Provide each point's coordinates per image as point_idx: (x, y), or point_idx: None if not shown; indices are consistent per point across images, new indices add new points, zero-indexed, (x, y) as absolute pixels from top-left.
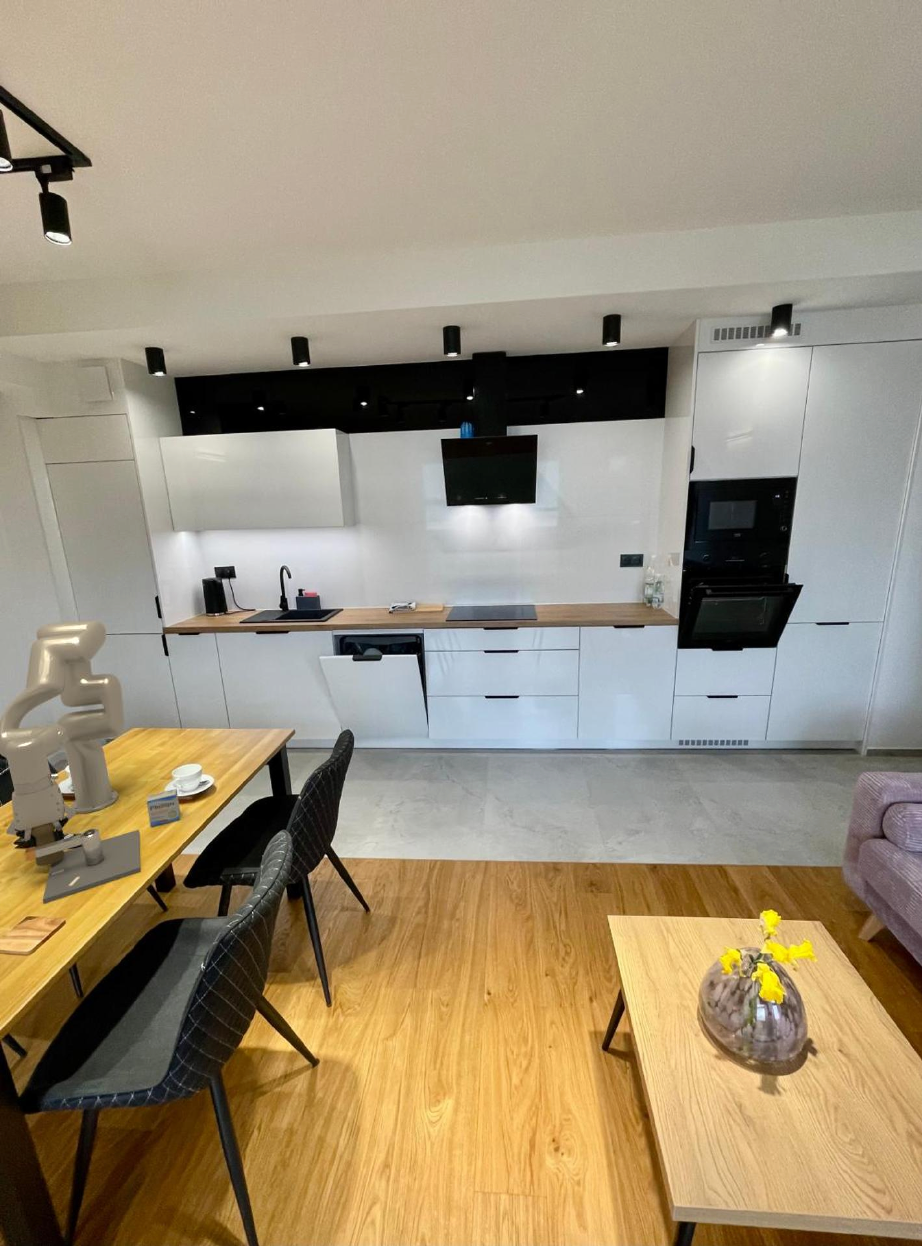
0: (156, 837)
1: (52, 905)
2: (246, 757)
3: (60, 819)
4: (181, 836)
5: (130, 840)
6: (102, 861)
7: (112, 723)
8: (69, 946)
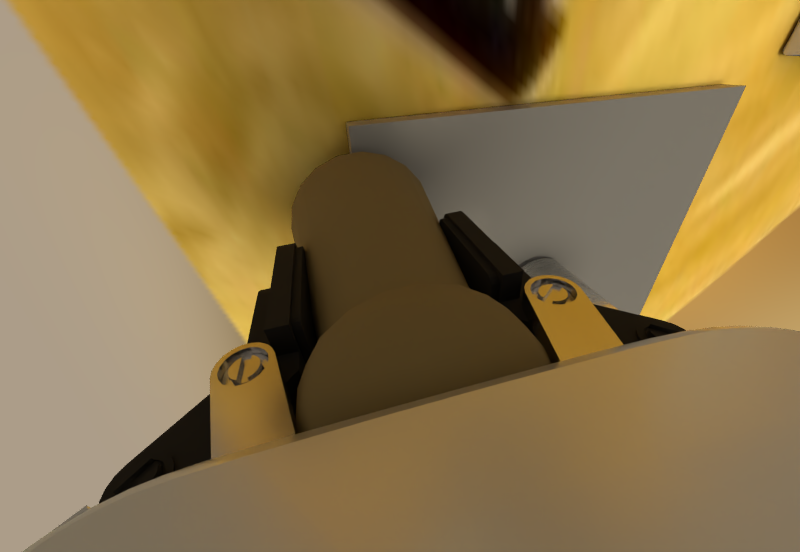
0: (732, 173)
1: None
2: None
3: (608, 337)
4: (773, 213)
5: (672, 185)
6: None
7: None
8: None
